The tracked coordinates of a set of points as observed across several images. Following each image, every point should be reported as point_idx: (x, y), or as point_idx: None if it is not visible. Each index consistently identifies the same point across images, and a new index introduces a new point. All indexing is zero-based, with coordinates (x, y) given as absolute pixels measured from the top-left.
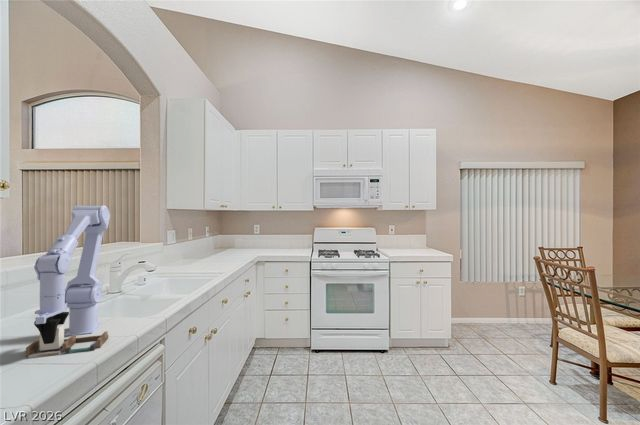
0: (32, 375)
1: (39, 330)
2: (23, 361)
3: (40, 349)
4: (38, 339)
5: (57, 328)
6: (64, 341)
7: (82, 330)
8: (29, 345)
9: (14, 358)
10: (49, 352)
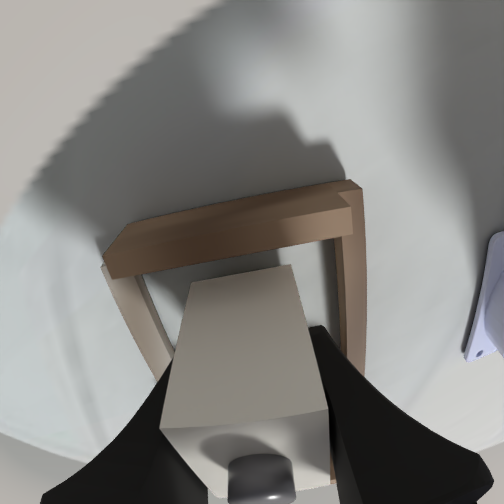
0: (4, 371)
1: (106, 450)
2: (76, 253)
3: (190, 291)
4: (321, 220)
5: (214, 492)
6: (344, 341)
7: (491, 332)
8: (154, 246)
9: (117, 147)
10: (161, 355)
